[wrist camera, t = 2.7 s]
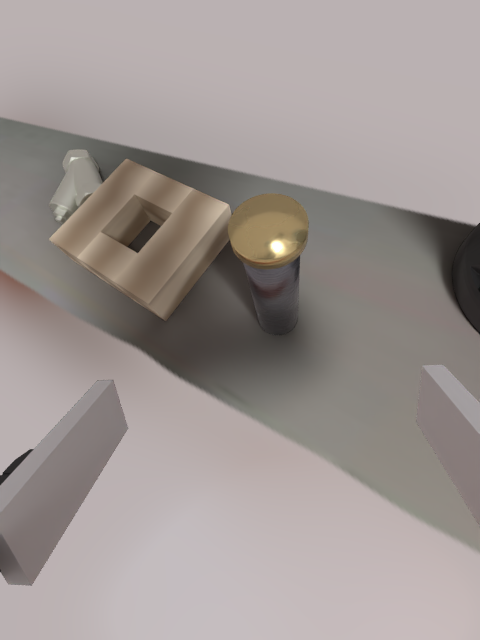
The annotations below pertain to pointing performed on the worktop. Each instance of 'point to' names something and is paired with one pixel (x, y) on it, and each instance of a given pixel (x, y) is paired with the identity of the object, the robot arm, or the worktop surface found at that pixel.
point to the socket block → (164, 246)
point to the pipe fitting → (75, 184)
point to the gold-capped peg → (271, 256)
